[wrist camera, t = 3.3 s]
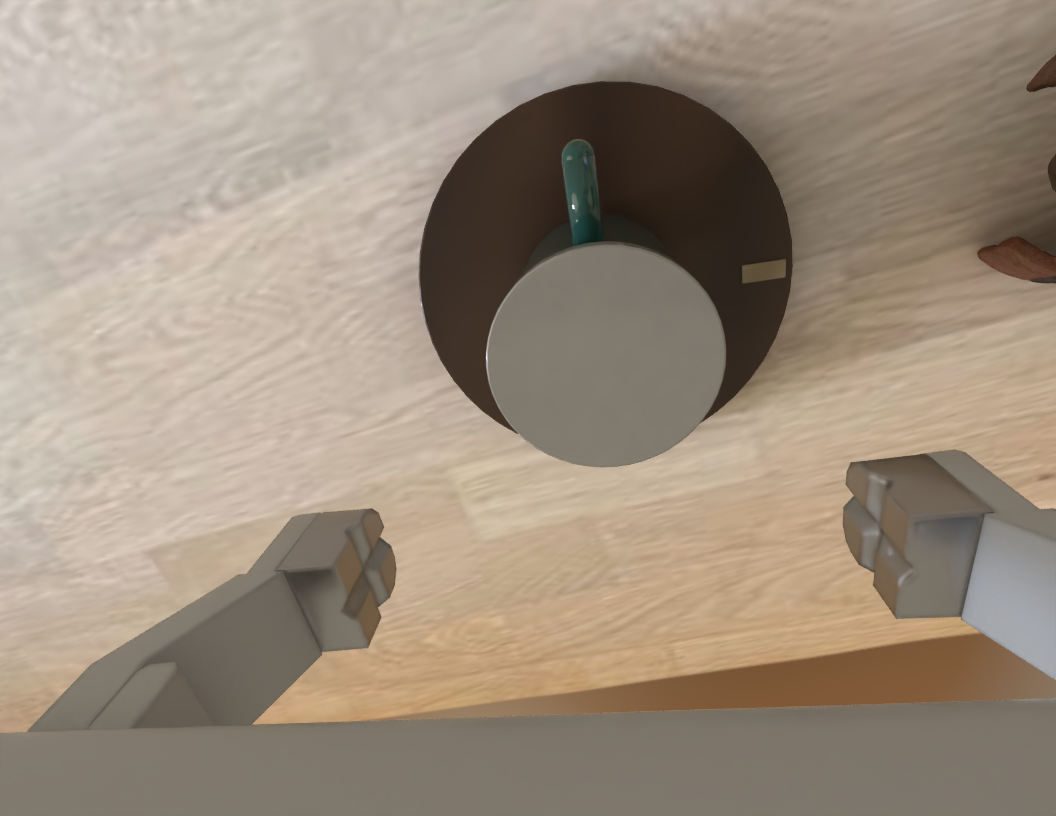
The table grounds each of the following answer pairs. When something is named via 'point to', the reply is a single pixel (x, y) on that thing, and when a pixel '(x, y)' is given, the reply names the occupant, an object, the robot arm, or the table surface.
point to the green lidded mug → (604, 337)
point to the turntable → (626, 190)
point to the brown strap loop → (1015, 251)
